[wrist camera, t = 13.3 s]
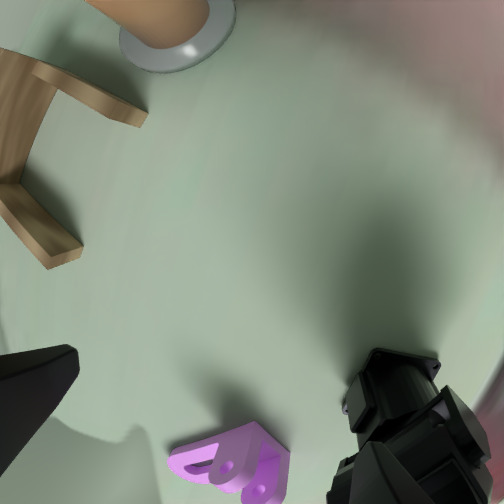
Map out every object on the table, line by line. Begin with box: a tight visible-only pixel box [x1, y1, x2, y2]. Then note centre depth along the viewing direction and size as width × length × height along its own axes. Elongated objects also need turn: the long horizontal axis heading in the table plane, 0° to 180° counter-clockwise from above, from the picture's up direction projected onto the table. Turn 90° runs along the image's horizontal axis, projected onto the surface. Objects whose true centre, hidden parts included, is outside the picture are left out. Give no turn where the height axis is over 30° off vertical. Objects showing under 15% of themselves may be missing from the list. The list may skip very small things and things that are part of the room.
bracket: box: [167, 421, 290, 504], centre depth 21 cm, size 13×6×7 cm, turn 128°
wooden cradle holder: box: [0, 48, 148, 270], centre depth 16 cm, size 12×13×8 cm
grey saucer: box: [119, 0, 236, 73], centre depth 16 cm, size 9×9×1 cm
